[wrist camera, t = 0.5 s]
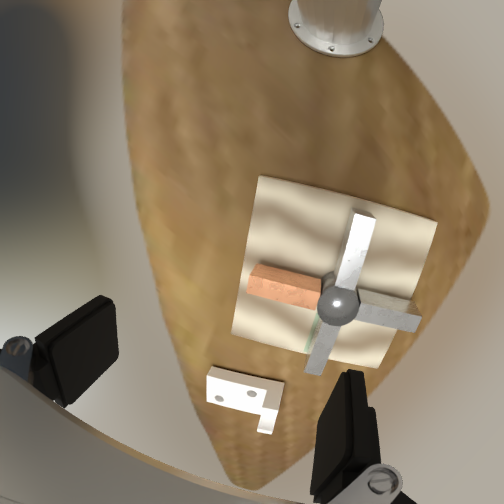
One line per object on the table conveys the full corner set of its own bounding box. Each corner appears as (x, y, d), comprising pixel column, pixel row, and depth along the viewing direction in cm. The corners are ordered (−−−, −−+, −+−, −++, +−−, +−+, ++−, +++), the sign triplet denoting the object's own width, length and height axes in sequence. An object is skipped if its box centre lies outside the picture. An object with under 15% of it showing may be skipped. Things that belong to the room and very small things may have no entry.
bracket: (285, 379, 47) (278, 410, 40) (279, 404, 49) (271, 434, 42) (213, 362, 49) (198, 390, 42) (212, 388, 52) (199, 416, 45)
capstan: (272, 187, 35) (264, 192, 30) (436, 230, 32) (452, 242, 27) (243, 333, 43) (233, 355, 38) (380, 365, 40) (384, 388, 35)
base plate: (261, 175, 37) (258, 175, 36) (433, 220, 33) (438, 223, 32) (233, 328, 46) (230, 334, 44) (376, 362, 42) (377, 369, 40)
